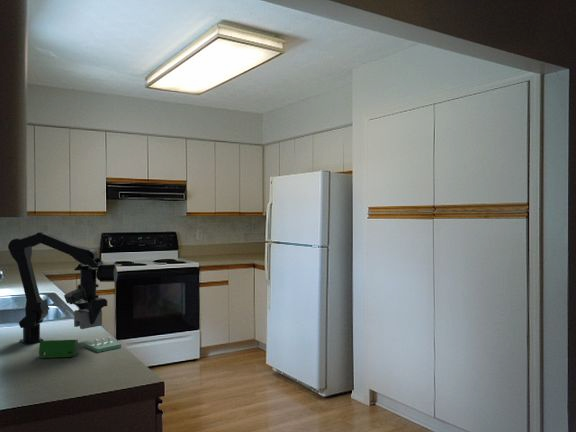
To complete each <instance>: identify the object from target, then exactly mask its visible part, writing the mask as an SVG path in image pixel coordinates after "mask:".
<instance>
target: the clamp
mask: <svg viewBox="0 0 576 432" xmlns="http://www.w3.org/2000/svg"><path fill="white" fill-rule="evenodd" d="M78 342H79V339H59V340H58V339H51V340H44V341H40V342H39V350H38V351H39V352H38V356H39V358H42V359H44V358H45V359H49V358H51V359H52V358H71V357H74V356H75V355H76V351H77V350H76V349H77V348H76V347H77V344H79V343H78ZM70 352H71V353H70Z"/></svg>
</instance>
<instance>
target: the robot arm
mask: <svg viewBox="0 0 576 432" xmlns="http://www.w3.org/2000/svg"><path fill="white" fill-rule="evenodd" d="M41 244H42V245H45V246H46V247H50V248H51V249H54V250H57V251H59V252H61V253H64V254H67V255H69V256H71V257H72V258H73V259H74V260H75V261H77V262H78V265H77V266H76V267H75V268H74V271H80V274H79V275H80V279H79V281H80V282H79V284H77V286H76V287H77V288H76V289H74V290H72V291H69V292H67V293H65V294H64V295H63V296H64V299H65V302H66V304H69V305H74V306H75V307H77V310H82V309H87V310H88V311H89V317H90V324H94V322H95V320H96V318H97V316H98V314H99V312H100V311H101V310H102V309H103V308H104V307H108V300H107V299H106V298H104V297H99V295H98V294H97V288H99V284H98V283H97V280H98V281H99V283H116V282H117V281H118V276H119V275H118V269H117V268H118V267H117V264H116V263H110V264H108V263H107V264H106V263H105V264H104V262H103V261H102V260H101V259H100V256H99V253H98V251H97V250H96V249H94V248H91V247H87V246H80V245H77V244H73V243H71V242H68V241H66V240H64V239H61V238H59V237H56V236H54V235H52V234H49V233H48V232H47V231H40V232H37V233H35V234H33V235H29V236H27V237H18V238H14V239H12V240H10V241H9V243H8V244H7V248H8V251H9V253H10V255H11V257H12V259H13V260H14V261H15V262H16V264H17V267H18V271H19V276H20V279H21V284H22V288H23V291H24V295H25V307H24V312H25V316H24V317H22V319H21V320H20V321H19V322H18V325H19V328H22V338H21V339H19V342H21V343H22V344H24V345H29V344H34V343H40V341H45V340H44V339H43V338H41V324H42V323H43V322H44V319H45V318H46V317H48V315H49V310H50V307H49V305H48V299H45V298H44V299H43V298H42V297H41V296H40V292H39V289H38V288H39V287H38V283H37V280H36V275H35V272H34V268H33V264H32V255H33V254H32V253H33V247H36V246H38V245H41Z"/></svg>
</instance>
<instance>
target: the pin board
mask: <svg viewBox="0 0 576 432" xmlns="http://www.w3.org/2000/svg"><path fill="white" fill-rule="evenodd" d="M83 347H84V348H86V349H89V350H91V351H93V352H96V353H102V351H103V352H107V351H112V350H116V349H120V348H122V344H121V343H119V342H117V341H114V340H112V339H111V336H107V338H106V339H105V338H104V337H102V338H101V340H98V339H94V341H91V342H85V343H84V346H83Z"/></svg>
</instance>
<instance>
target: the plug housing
mask: <svg viewBox="0 0 576 432" xmlns="http://www.w3.org/2000/svg"><path fill="white" fill-rule="evenodd" d="M73 313H74V314H73V326H74V328H78V327H79V329H80V330H85V329H90V328H91V329H92V328H95V327H100V326H101V327H102V325H103V310H102V309H101V311H100V312H99V314H98V316H97V318H96V320H95V322H94V324H90V317H89V311H88V310H87V309H82V310H79V309H77V310H74V311H73Z"/></svg>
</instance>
